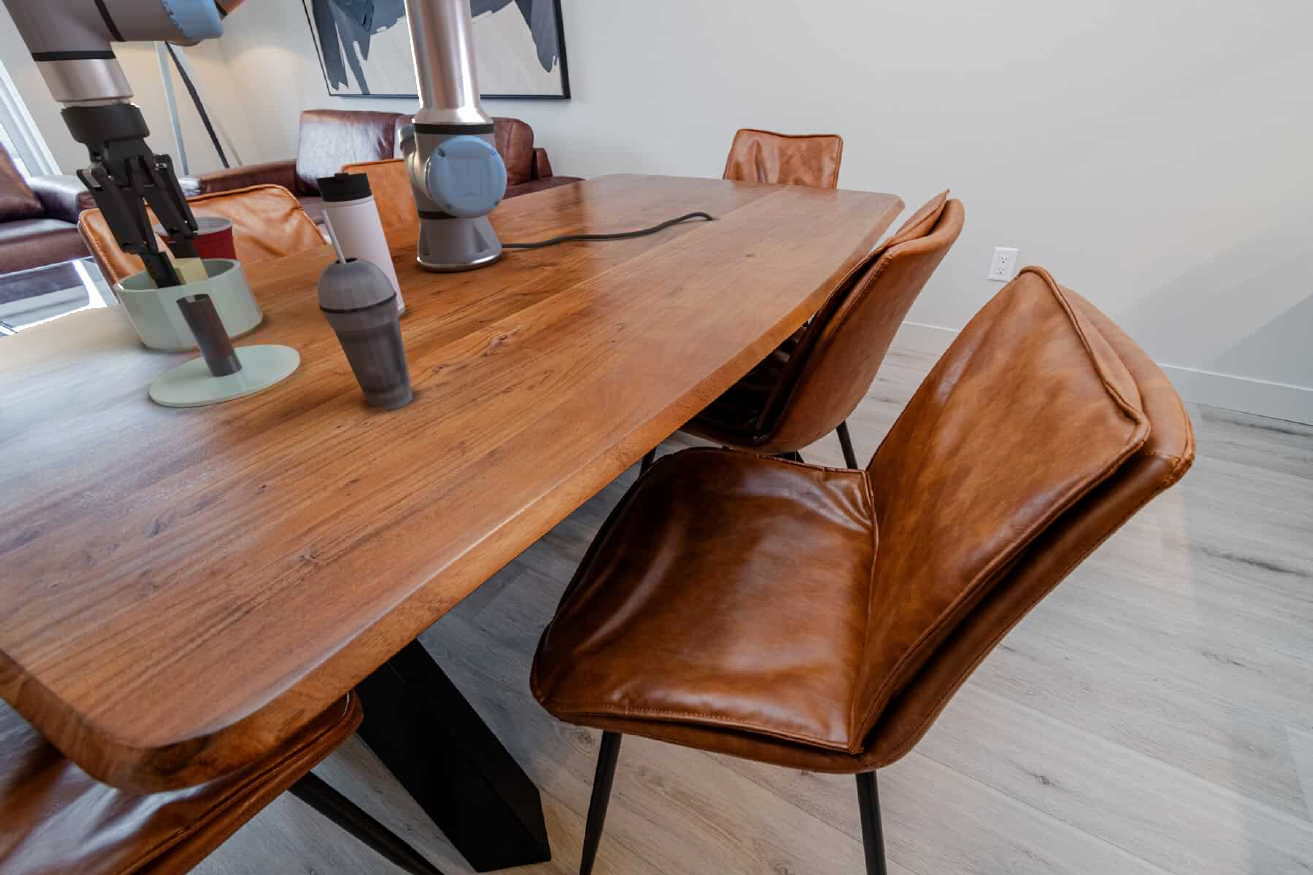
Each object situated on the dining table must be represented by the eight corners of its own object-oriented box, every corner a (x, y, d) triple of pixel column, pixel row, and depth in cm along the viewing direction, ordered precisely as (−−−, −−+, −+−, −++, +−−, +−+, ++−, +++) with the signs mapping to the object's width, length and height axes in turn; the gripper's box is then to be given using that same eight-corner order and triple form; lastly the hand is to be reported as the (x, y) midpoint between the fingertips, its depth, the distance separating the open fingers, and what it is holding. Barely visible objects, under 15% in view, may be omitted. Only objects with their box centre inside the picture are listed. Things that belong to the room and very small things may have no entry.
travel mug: (364, 328, 85) (313, 176, 74) (360, 314, 90) (312, 170, 79) (409, 319, 87) (367, 170, 76) (403, 305, 92) (363, 165, 81)
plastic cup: (226, 307, 95) (191, 230, 89) (171, 305, 98) (133, 230, 91) (275, 285, 104) (247, 214, 98) (223, 284, 106) (192, 214, 100)
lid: (323, 349, 79) (295, 273, 74) (263, 407, 66) (222, 320, 60) (205, 356, 79) (167, 280, 73) (120, 416, 66) (67, 329, 60)
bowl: (282, 310, 93) (260, 255, 88) (229, 349, 81) (200, 288, 76) (187, 316, 93) (160, 261, 88) (120, 356, 80) (85, 294, 76)
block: (214, 289, 86) (200, 257, 83) (194, 300, 82) (179, 267, 79) (181, 291, 86) (166, 259, 83) (160, 302, 82) (144, 269, 79)
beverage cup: (384, 423, 62) (315, 223, 51) (341, 407, 65) (269, 216, 54) (439, 393, 67) (388, 205, 56) (397, 380, 70) (341, 200, 59)
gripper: (119, 101, 79) (200, 276, 91) (-1, 111, 64) (116, 318, 76) (176, 97, 79) (249, 273, 91) (70, 107, 64) (175, 315, 76)
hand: (188, 293), depth 84 cm, fingers closed on block, 5 cm apart
